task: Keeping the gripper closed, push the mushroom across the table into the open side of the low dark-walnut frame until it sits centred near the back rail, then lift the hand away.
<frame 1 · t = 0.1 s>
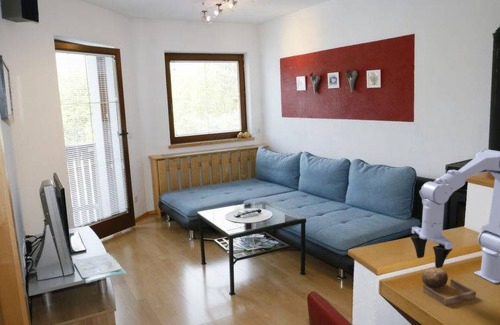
hand: (429, 262, 124), 10 cm above the table, fingers open, 7 cm apart
walnut frame: (448, 294, 124), on the table
mushroom: (434, 286, 129), on the table
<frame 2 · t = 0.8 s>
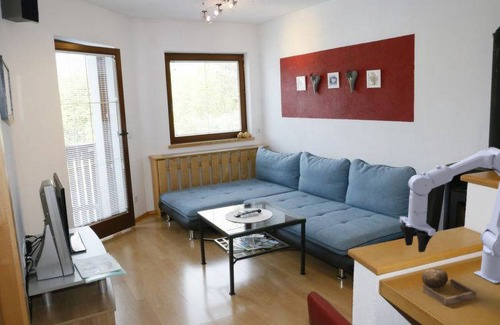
hand: (415, 248, 136), 9 cm above the table, fingers open, 5 cm apart
nothing on the table moved.
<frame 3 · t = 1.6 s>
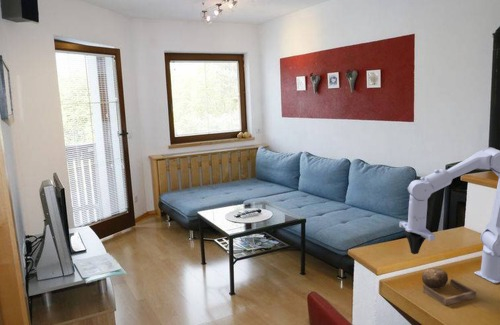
hand: (414, 253, 136), 8 cm above the table, fingers closed
nothing on the table moved.
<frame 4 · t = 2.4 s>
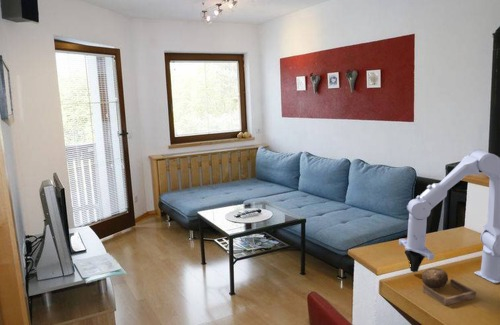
hand: (414, 270, 137), 1 cm above the table, fingers closed
nothing on the table moved.
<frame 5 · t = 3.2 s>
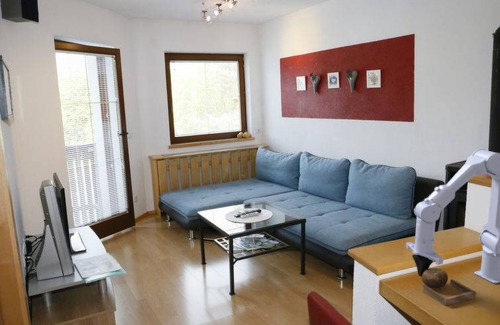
hand: (422, 275, 134), 1 cm above the table, fingers closed
mushroom: (434, 286, 129), on the table, touching gripper
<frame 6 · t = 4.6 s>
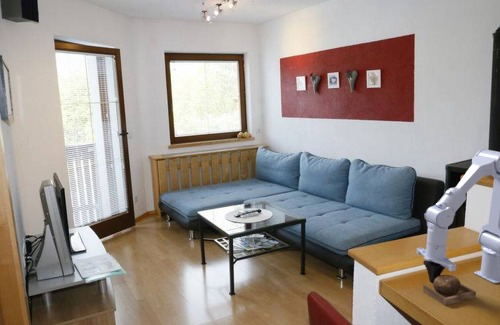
hand: (433, 282, 129), 1 cm above the table, fingers closed
mushroom: (445, 293, 125), on the table, touching gripper
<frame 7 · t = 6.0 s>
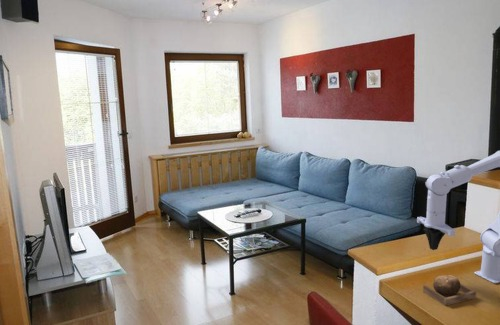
hand: (433, 248, 135), 10 cm above the table, fingers closed
mushroom: (445, 294, 125), on the table
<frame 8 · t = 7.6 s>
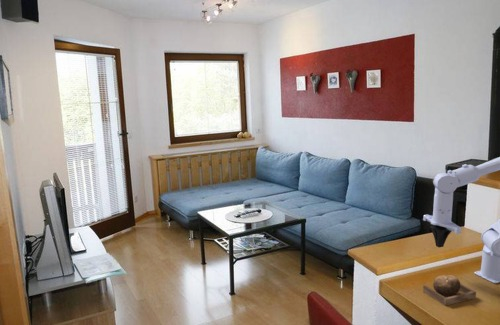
hand: (439, 246, 136), 10 cm above the table, fingers closed
nothing on the table moved.
at the end: mushroom inside the target area (1.0 cm from its centre), on the table; mushroom tilted 2°; mushroom moved 5.0 cm from its start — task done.
